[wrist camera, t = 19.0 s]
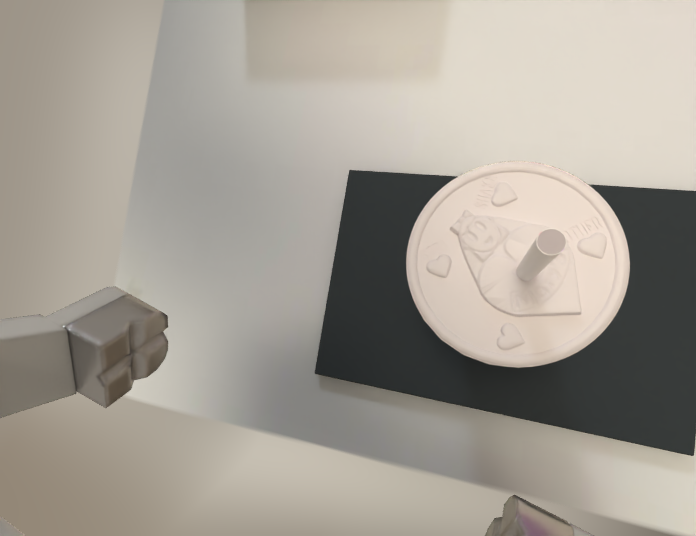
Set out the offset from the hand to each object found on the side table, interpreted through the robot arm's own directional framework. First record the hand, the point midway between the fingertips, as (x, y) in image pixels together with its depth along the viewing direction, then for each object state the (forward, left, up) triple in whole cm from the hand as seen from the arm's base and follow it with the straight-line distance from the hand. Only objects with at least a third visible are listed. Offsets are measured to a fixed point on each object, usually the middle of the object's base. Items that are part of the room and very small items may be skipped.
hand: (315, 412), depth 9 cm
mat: (+4, +5, -15) cm, 16 cm away
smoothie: (+4, +5, -14) cm, 16 cm away
